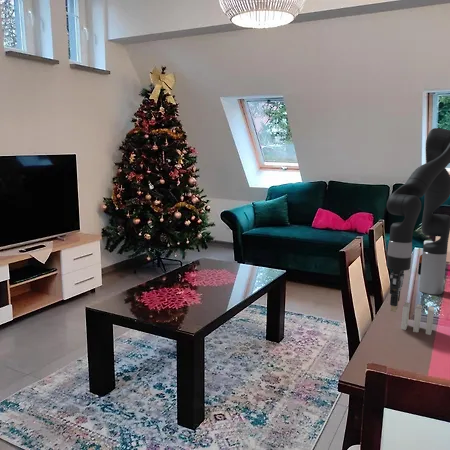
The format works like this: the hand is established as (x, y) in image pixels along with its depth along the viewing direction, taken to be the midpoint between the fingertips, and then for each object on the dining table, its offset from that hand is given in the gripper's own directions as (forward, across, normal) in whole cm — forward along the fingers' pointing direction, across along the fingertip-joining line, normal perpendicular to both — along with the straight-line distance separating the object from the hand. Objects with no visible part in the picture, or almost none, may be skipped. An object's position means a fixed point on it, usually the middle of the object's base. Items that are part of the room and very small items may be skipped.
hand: (394, 302), depth 153 cm
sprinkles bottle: (+8, +93, -4) cm, 93 cm away
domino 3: (+8, 0, -8) cm, 11 cm away
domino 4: (+8, 0, -11) cm, 14 cm away
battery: (+8, +78, -4) cm, 79 cm away
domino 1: (+2, 0, 0) cm, 2 cm away
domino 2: (+8, 0, -4) cm, 9 cm away
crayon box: (+8, +108, -4) cm, 108 cm away
